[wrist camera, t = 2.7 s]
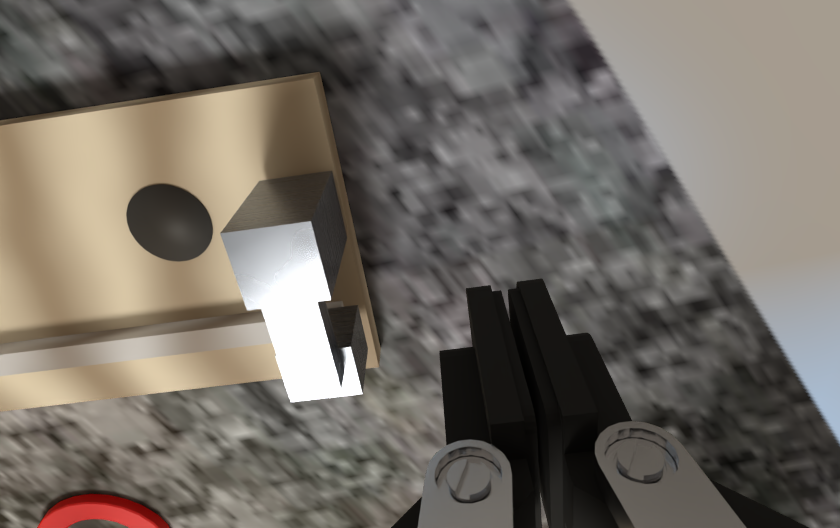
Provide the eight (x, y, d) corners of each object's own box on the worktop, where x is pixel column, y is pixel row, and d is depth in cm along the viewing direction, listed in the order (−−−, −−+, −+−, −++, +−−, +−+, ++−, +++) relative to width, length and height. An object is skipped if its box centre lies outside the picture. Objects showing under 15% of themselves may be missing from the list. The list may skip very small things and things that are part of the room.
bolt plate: (319, 71, 22) (282, 111, 16) (380, 348, 28) (370, 452, 22) (-291, 164, 23) (-543, 233, 17) (-99, 405, 30) (-232, 518, 24)
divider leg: (332, 169, 22) (310, 221, 17) (370, 333, 26) (360, 411, 21) (260, 179, 22) (220, 233, 17) (308, 340, 26) (285, 419, 21)
